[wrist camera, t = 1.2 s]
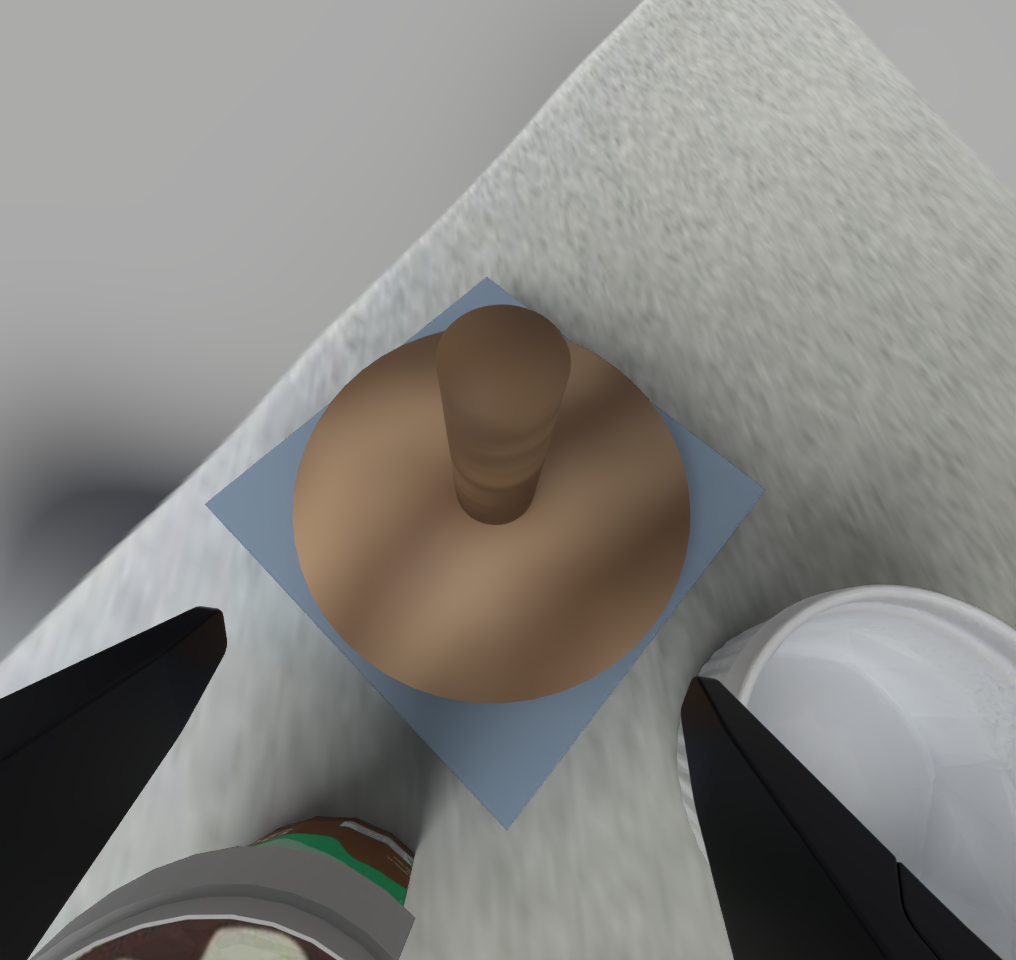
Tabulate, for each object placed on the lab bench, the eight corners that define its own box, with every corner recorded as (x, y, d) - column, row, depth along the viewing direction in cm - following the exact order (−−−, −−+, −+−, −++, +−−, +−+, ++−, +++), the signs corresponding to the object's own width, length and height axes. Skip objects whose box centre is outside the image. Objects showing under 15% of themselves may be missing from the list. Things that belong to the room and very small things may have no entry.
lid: (749, 490, 21) (955, 354, 12) (505, 806, 17) (533, 983, 7) (487, 288, 25) (489, 60, 15) (222, 503, 20) (-5, 363, 11)
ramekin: (718, 553, 24) (807, 510, 17) (989, 705, 22) (1206, 722, 15) (594, 836, 19) (652, 923, 13) (921, 1057, 17) (1188, 1295, 11)
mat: (733, 509, 24) (765, 489, 21) (503, 806, 19) (506, 830, 16) (486, 316, 28) (486, 276, 25) (239, 524, 23) (204, 504, 20)
